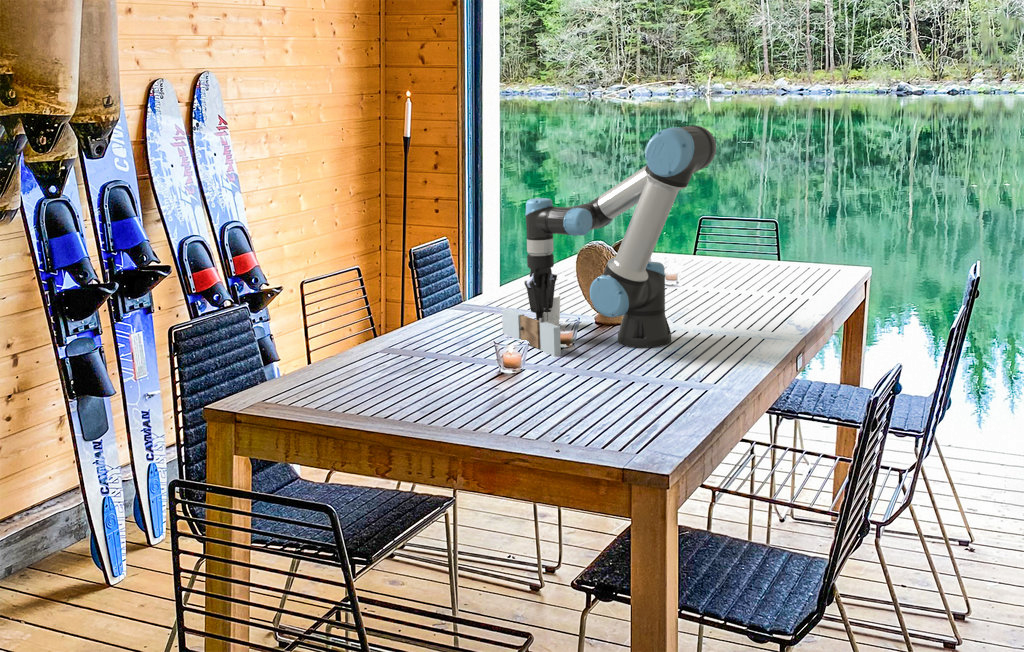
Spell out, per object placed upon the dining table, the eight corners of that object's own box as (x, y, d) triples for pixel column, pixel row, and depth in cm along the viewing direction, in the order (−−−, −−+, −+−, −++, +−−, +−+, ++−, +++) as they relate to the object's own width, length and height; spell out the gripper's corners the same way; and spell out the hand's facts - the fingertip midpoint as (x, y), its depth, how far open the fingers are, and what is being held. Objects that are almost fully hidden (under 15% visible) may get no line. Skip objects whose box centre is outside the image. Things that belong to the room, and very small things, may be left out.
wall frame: (560, 355, 303) (559, 323, 301) (554, 356, 302) (553, 324, 300) (508, 335, 329) (507, 305, 327) (502, 336, 328) (501, 306, 326)
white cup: (551, 332, 330) (550, 299, 328) (529, 329, 335) (528, 296, 333) (566, 326, 337) (565, 294, 334) (544, 324, 341) (543, 292, 339)
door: (541, 347, 311) (540, 321, 309) (534, 348, 310) (533, 322, 308) (524, 340, 319) (523, 315, 318) (517, 342, 318) (516, 316, 317)
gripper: (542, 249, 321) (545, 328, 326) (515, 256, 311) (518, 337, 316) (564, 251, 316) (566, 331, 321) (537, 257, 306) (539, 340, 311)
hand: (542, 334), depth 319 cm, fingers closed
